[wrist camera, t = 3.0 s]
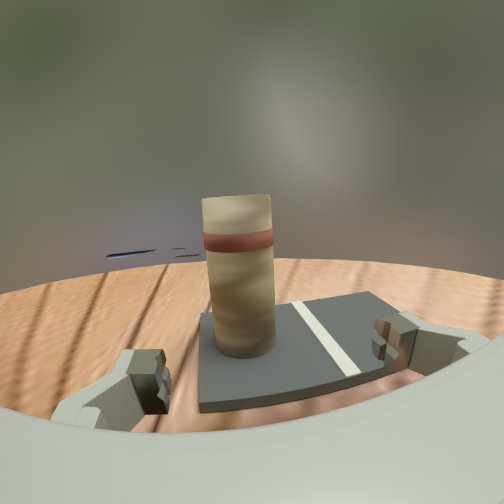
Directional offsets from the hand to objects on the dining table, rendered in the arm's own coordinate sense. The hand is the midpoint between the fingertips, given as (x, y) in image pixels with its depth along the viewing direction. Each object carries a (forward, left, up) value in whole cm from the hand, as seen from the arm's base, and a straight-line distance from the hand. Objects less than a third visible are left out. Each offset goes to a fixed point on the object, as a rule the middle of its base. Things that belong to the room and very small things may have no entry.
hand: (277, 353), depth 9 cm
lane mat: (+6, +12, -8) cm, 15 cm away
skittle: (0, +12, -7) cm, 14 cm away
